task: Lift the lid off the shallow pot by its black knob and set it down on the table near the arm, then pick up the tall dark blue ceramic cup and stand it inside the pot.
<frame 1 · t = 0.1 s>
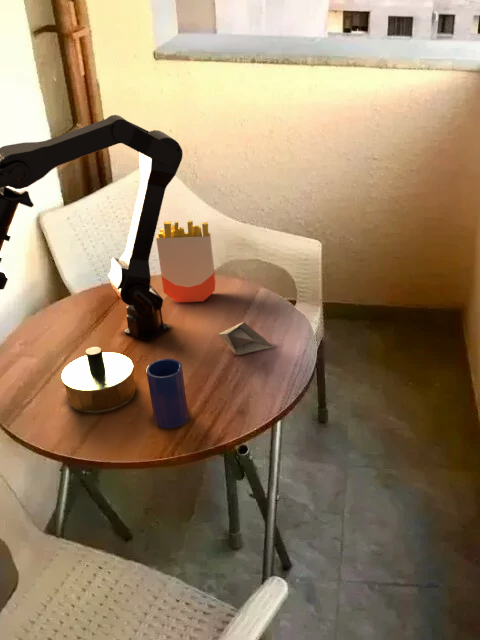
french fries container: (191, 298, 158), on the table
cup: (171, 418, 121), on the table
pot: (102, 394, 127), on the table
paper boat: (244, 354, 138), on the table
lid: (98, 373, 125), point 4 cm above the table, touching pot
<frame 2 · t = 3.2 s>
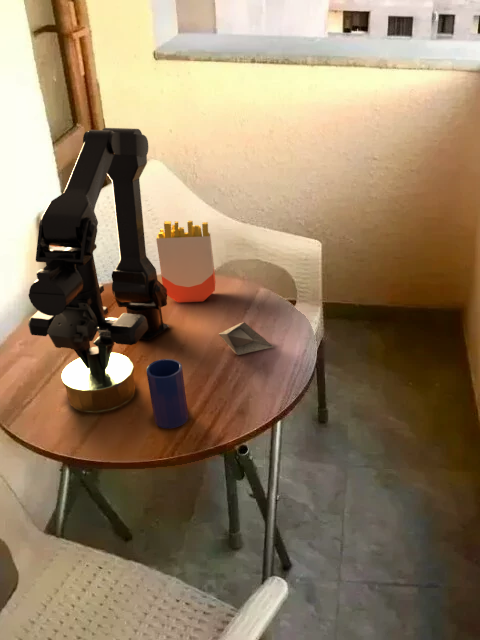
hand: (97, 367, 124), 6 cm above the table, tool pointing down, fingers closed on lid, 3 cm apart
lid: (98, 373, 125), point 5 cm above the table, touching gripper, pot
everything else where it was.
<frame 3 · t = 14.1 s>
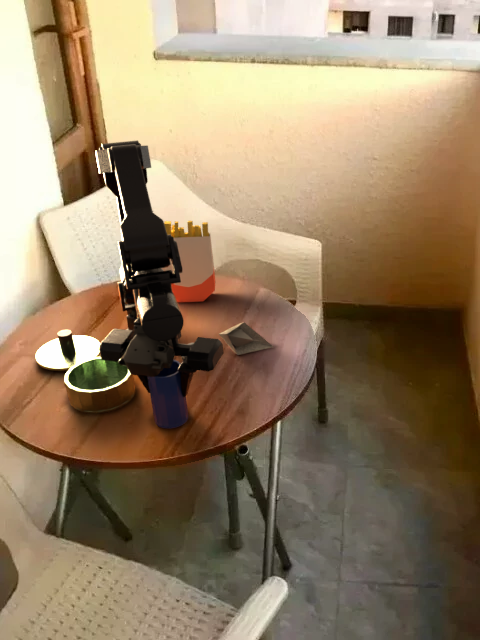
hand: (167, 393, 118), 5 cm above the table, tool pointing down, fingers closed on cup, 6 cm apart
cup: (171, 418, 121), on the table, touching gripper
lid: (69, 353, 138), point 1 cm above the table
everything else where it was.
when the fingers open (5 cm above the table, at t = 18.7 s): cup stays where it is, resting on pot.
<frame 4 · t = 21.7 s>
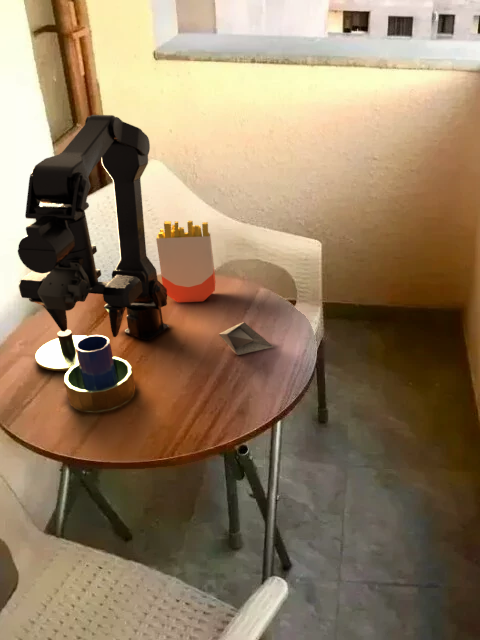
hand: (90, 333, 120), 12 cm above the table, tool pointing down, fingers open, 9 cm apart
cup: (102, 392, 127), resting on pot
everything else where it was.
at the end: lid inside the target area (0.1 cm from its centre), point 0.6 cm above the table; cup 0.1 cm off-centre in the pot, point 0.5 cm above the pot's base; cup tilted 0° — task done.
